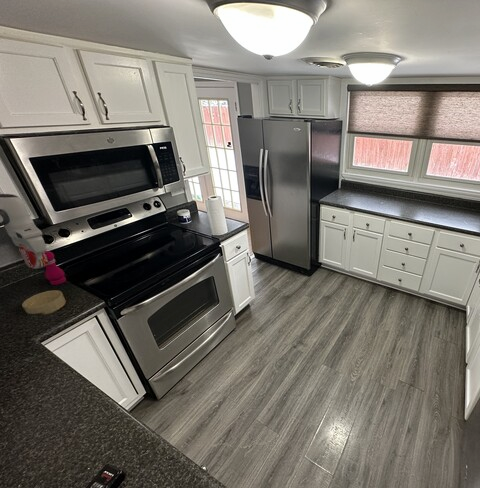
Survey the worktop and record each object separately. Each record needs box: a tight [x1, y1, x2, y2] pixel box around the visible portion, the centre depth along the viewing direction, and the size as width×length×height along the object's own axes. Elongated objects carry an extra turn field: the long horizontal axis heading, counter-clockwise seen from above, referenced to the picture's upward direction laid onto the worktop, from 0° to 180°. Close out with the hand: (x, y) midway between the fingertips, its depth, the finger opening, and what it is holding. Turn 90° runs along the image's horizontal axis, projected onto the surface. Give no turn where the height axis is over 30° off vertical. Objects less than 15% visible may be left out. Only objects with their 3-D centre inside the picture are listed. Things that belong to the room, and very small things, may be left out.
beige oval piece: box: [21, 289, 67, 316], centre depth 123 cm, size 13×13×6 cm
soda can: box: [18, 244, 48, 270], centre depth 122 cm, size 7×7×12 cm
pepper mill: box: [44, 250, 67, 286], centre depth 139 cm, size 7×7×20 cm
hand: (35, 257), depth 123 cm, fingers closed on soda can, 7 cm apart
